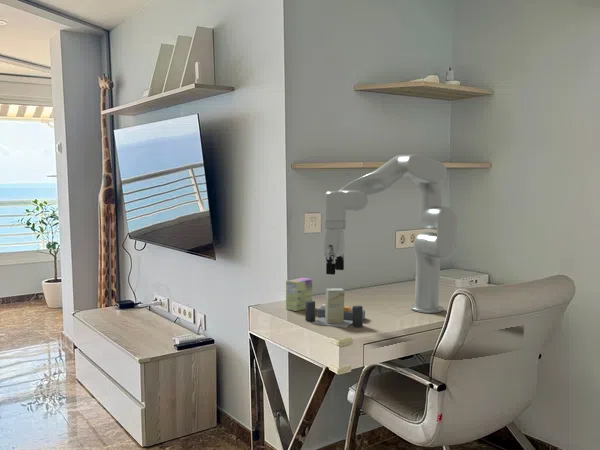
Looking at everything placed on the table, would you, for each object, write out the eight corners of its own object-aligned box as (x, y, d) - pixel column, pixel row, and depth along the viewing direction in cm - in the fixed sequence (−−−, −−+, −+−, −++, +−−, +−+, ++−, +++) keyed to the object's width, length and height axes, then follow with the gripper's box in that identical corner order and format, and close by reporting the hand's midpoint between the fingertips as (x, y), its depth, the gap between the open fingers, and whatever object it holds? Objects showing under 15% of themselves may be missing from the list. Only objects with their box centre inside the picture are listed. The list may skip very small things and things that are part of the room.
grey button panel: (323, 313, 218) (323, 302, 218) (365, 318, 211) (365, 306, 211) (307, 323, 203) (307, 311, 202) (352, 328, 196) (352, 316, 196)
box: (301, 305, 232) (301, 277, 231) (312, 307, 228) (312, 278, 227) (285, 309, 224) (285, 280, 223) (296, 311, 220) (296, 282, 219)
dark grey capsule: (353, 324, 202) (353, 305, 202) (363, 324, 201) (363, 305, 201) (352, 326, 199) (351, 307, 198) (362, 327, 198) (361, 308, 197)
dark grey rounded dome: (306, 318, 209) (306, 300, 208) (315, 319, 209) (315, 300, 208) (304, 321, 206) (304, 302, 205) (314, 321, 205) (314, 303, 204)
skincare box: (327, 323, 201) (328, 290, 200) (324, 320, 205) (325, 288, 204) (344, 322, 202) (344, 290, 201) (340, 319, 207) (341, 287, 206)
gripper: (333, 222, 210) (333, 267, 212) (317, 227, 194) (317, 275, 196) (352, 223, 207) (352, 268, 209) (337, 227, 191) (337, 276, 193)
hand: (335, 272), depth 202 cm, fingers open, 9 cm apart
